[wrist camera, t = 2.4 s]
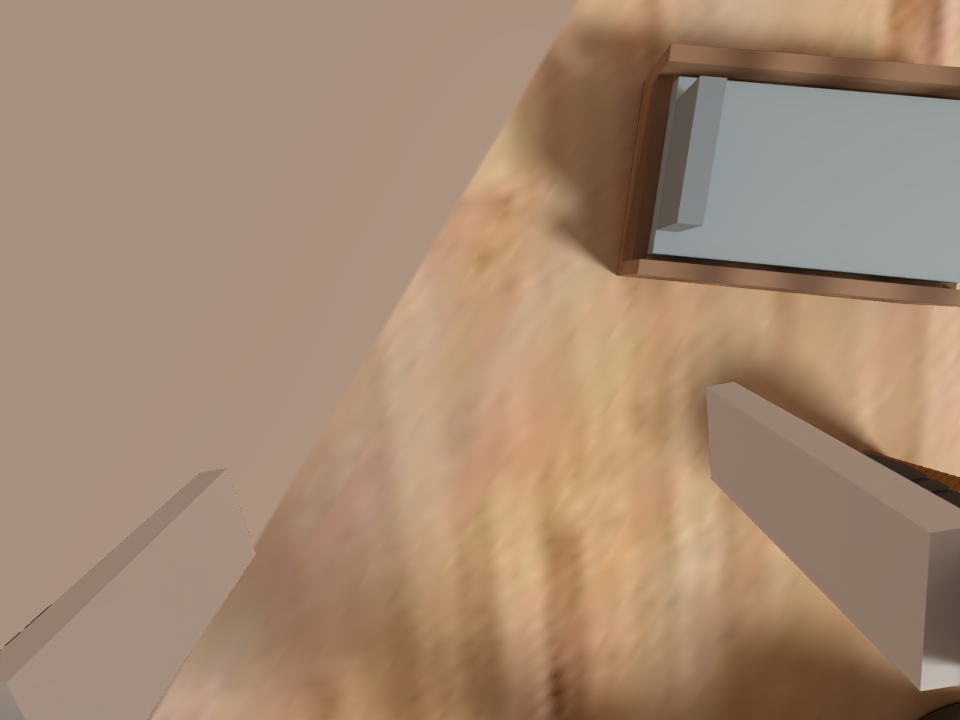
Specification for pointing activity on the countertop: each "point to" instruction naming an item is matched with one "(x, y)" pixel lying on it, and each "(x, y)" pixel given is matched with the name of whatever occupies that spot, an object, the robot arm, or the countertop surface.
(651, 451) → the countertop surface
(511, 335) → the countertop surface
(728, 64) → the box body
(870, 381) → the countertop surface
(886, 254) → the cover plate
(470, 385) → the countertop surface
